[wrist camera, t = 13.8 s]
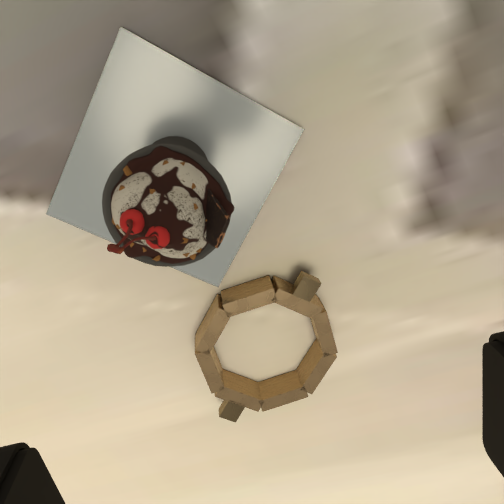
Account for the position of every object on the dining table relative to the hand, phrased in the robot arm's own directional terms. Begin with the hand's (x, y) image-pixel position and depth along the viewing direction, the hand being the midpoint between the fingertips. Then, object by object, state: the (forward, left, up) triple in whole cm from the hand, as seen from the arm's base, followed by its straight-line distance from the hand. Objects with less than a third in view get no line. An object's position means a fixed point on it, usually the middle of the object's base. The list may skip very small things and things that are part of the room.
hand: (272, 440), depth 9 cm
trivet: (+1, -3, -27) cm, 27 cm away
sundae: (+1, -3, -26) cm, 26 cm away
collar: (+11, +10, -27) cm, 31 cm away
